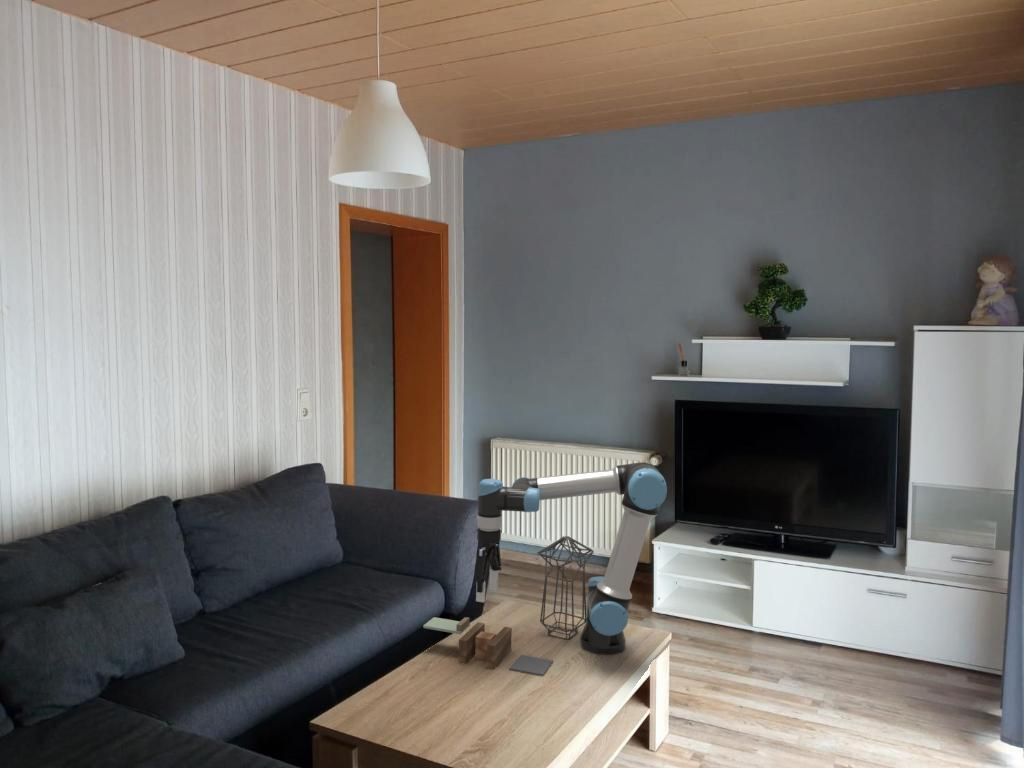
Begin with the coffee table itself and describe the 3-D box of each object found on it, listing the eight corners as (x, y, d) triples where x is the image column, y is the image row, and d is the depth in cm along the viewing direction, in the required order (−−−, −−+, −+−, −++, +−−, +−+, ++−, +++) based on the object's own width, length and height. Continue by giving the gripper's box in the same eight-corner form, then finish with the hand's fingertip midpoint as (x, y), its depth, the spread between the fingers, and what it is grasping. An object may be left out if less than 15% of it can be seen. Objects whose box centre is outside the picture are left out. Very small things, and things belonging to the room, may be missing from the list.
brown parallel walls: (511, 649, 269) (511, 627, 268) (493, 669, 254) (494, 646, 253) (477, 643, 273) (477, 622, 272) (458, 662, 258) (458, 639, 257)
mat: (553, 662, 261) (553, 660, 261) (543, 676, 250) (543, 674, 250) (520, 656, 264) (520, 654, 264) (509, 670, 254) (509, 668, 254)
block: (495, 654, 265) (495, 633, 264) (489, 660, 260) (490, 639, 260) (480, 652, 267) (481, 631, 266) (475, 658, 262) (475, 636, 261)
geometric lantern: (592, 632, 286) (597, 535, 282) (571, 648, 273) (575, 546, 269) (553, 621, 295) (557, 526, 291) (530, 636, 281) (534, 537, 277)
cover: (469, 625, 269) (470, 617, 269) (460, 634, 261) (460, 625, 261) (433, 619, 273) (434, 611, 273) (423, 627, 266) (423, 619, 265)
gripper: (491, 518, 272) (489, 583, 274) (464, 535, 250) (462, 605, 252) (512, 521, 270) (510, 586, 271) (487, 538, 248) (484, 609, 250)
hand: (487, 595), depth 262 cm, fingers open, 11 cm apart
